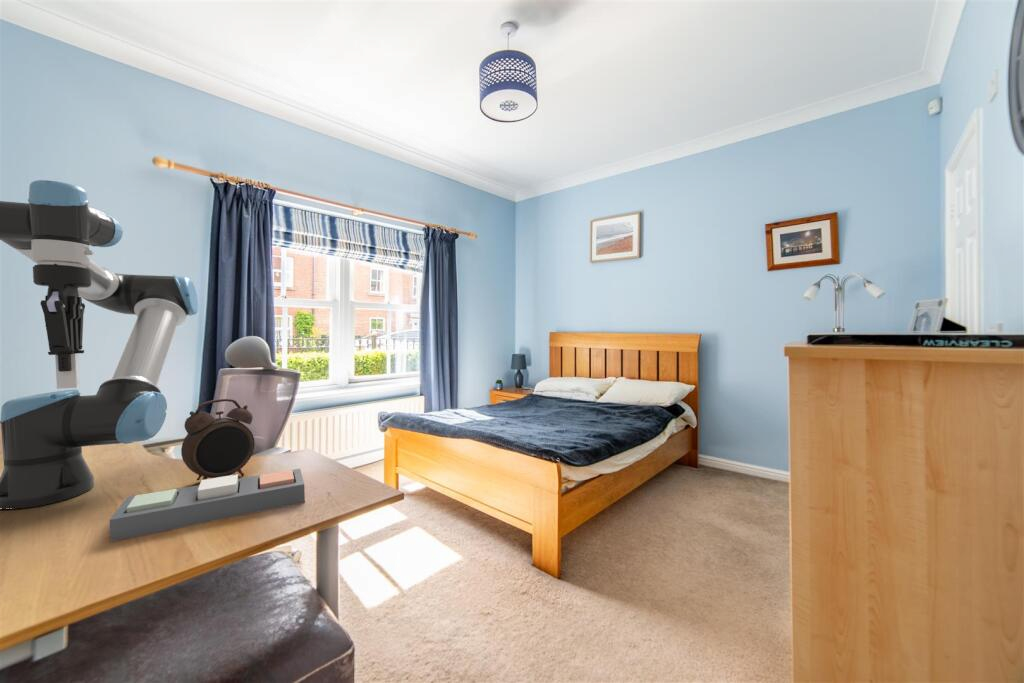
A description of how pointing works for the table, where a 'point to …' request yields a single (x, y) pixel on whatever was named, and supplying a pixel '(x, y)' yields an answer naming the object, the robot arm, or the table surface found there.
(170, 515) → the keypad
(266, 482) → the key terracotta
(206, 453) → the alarm clock
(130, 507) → the key sage
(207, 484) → the key offwhite
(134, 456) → the table surface
